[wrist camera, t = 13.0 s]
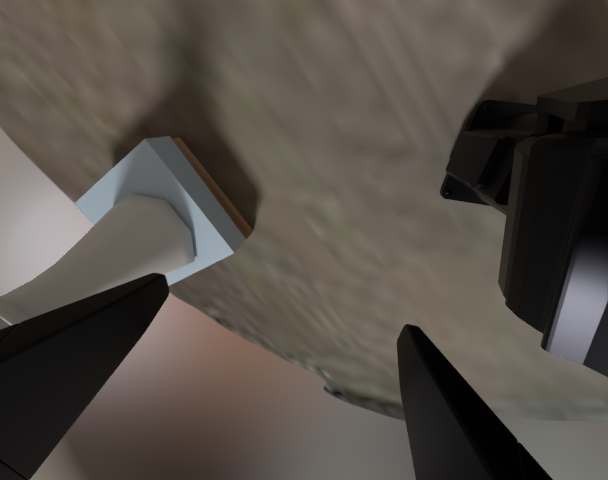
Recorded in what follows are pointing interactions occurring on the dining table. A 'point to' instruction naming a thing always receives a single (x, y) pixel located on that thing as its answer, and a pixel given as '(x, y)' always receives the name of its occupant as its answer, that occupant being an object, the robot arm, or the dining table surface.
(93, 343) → the robot arm
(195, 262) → the pale blue square slab
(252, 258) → the dining table surface
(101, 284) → the flask
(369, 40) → the dining table surface
